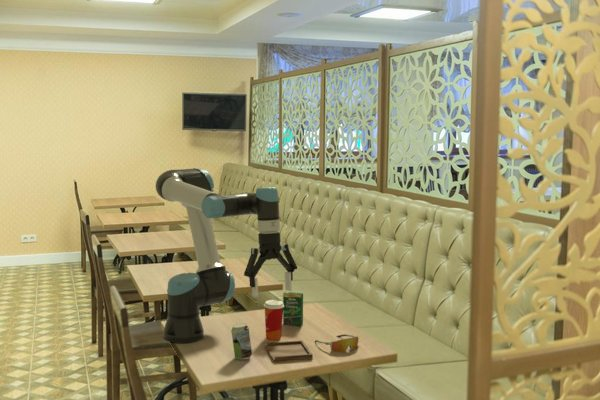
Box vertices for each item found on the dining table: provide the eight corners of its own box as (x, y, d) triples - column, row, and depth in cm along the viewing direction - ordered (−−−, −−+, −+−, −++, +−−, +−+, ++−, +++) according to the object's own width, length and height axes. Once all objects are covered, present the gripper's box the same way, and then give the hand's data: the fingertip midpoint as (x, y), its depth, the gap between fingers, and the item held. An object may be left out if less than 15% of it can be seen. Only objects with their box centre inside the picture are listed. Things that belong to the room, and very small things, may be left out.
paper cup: (268, 333, 253) (269, 298, 251) (286, 336, 250) (287, 301, 248) (259, 339, 245) (260, 303, 243) (278, 343, 243) (279, 306, 241)
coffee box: (281, 324, 264) (282, 292, 262) (284, 322, 267) (285, 290, 265) (300, 326, 261) (301, 295, 259) (303, 324, 264) (304, 293, 262)
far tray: (265, 347, 238) (265, 342, 238) (302, 345, 241) (302, 340, 241) (273, 362, 224) (273, 357, 224) (312, 359, 228) (312, 354, 228)
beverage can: (249, 362, 224) (249, 328, 222) (228, 360, 225) (229, 326, 224) (254, 355, 230) (254, 322, 228) (234, 353, 231) (234, 320, 230)
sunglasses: (334, 355, 233) (333, 341, 232) (310, 347, 245) (309, 334, 245) (365, 348, 240) (364, 334, 240) (340, 341, 253) (340, 328, 253)
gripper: (242, 236, 214) (246, 300, 215) (305, 229, 228) (308, 289, 229) (231, 235, 220) (235, 297, 221) (293, 228, 234) (295, 286, 236)
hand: (272, 293), depth 225 cm, fingers open, 13 cm apart
